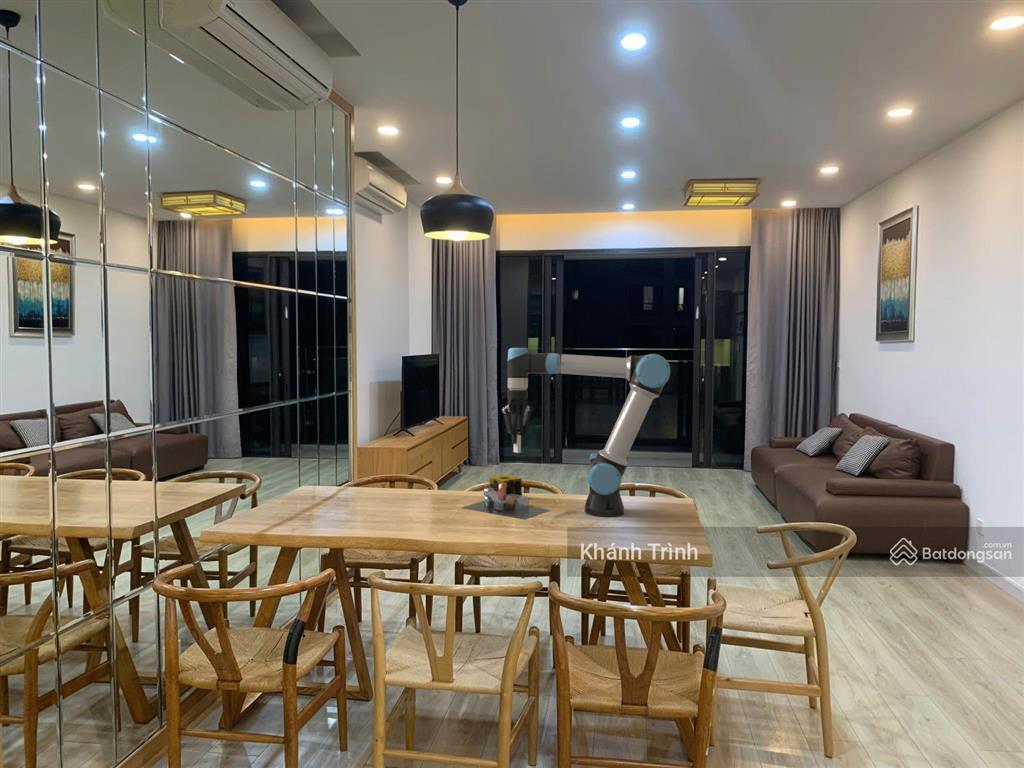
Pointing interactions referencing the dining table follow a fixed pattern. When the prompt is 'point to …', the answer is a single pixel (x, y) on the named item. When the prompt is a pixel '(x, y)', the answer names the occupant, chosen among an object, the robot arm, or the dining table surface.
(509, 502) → the walnut
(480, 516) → the dining table surface
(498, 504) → the lever
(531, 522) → the dining table surface
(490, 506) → the gray mechanism base plate
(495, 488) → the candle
